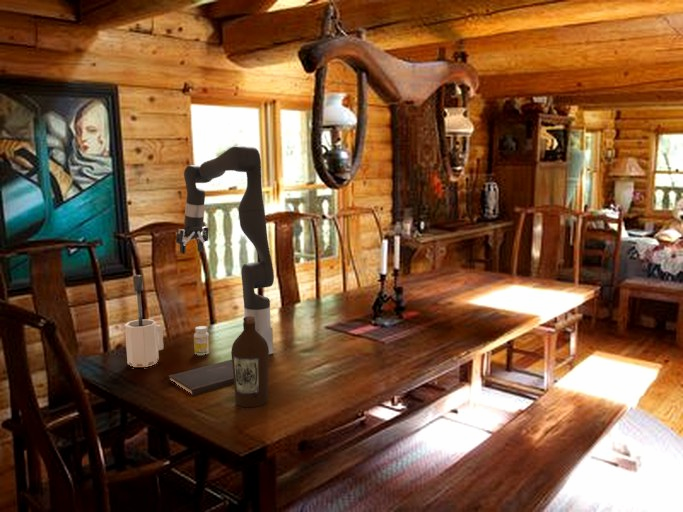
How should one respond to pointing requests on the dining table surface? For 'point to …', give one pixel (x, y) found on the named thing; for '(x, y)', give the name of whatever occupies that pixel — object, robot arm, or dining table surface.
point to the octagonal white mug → (143, 343)
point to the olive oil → (250, 366)
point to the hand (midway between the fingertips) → (191, 252)
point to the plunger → (138, 296)
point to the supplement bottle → (201, 341)
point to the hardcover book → (205, 377)
